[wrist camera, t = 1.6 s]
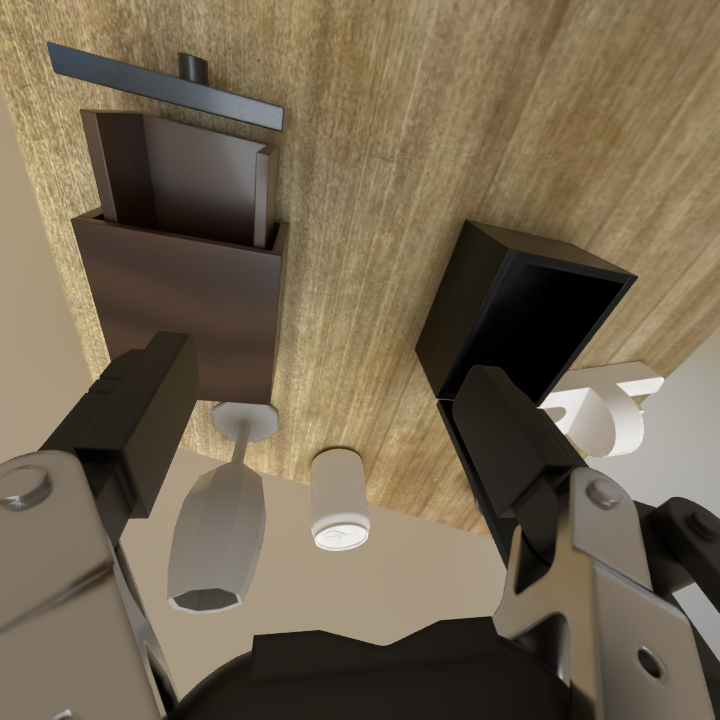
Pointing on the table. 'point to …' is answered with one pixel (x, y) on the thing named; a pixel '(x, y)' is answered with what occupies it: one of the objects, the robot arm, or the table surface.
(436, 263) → the table surface
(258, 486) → the wineglass
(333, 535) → the beverage can
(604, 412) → the white slotted bracket
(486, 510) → the lid
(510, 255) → the metal box
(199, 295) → the drawer cabinet
